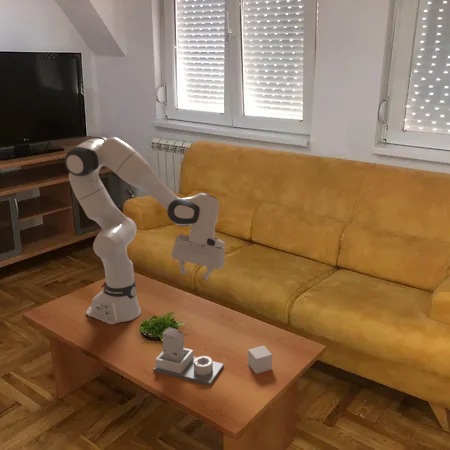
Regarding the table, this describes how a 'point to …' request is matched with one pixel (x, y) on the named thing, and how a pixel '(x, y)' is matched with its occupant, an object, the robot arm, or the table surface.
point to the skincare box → (173, 345)
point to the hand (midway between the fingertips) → (193, 276)
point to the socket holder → (190, 368)
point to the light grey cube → (259, 359)
